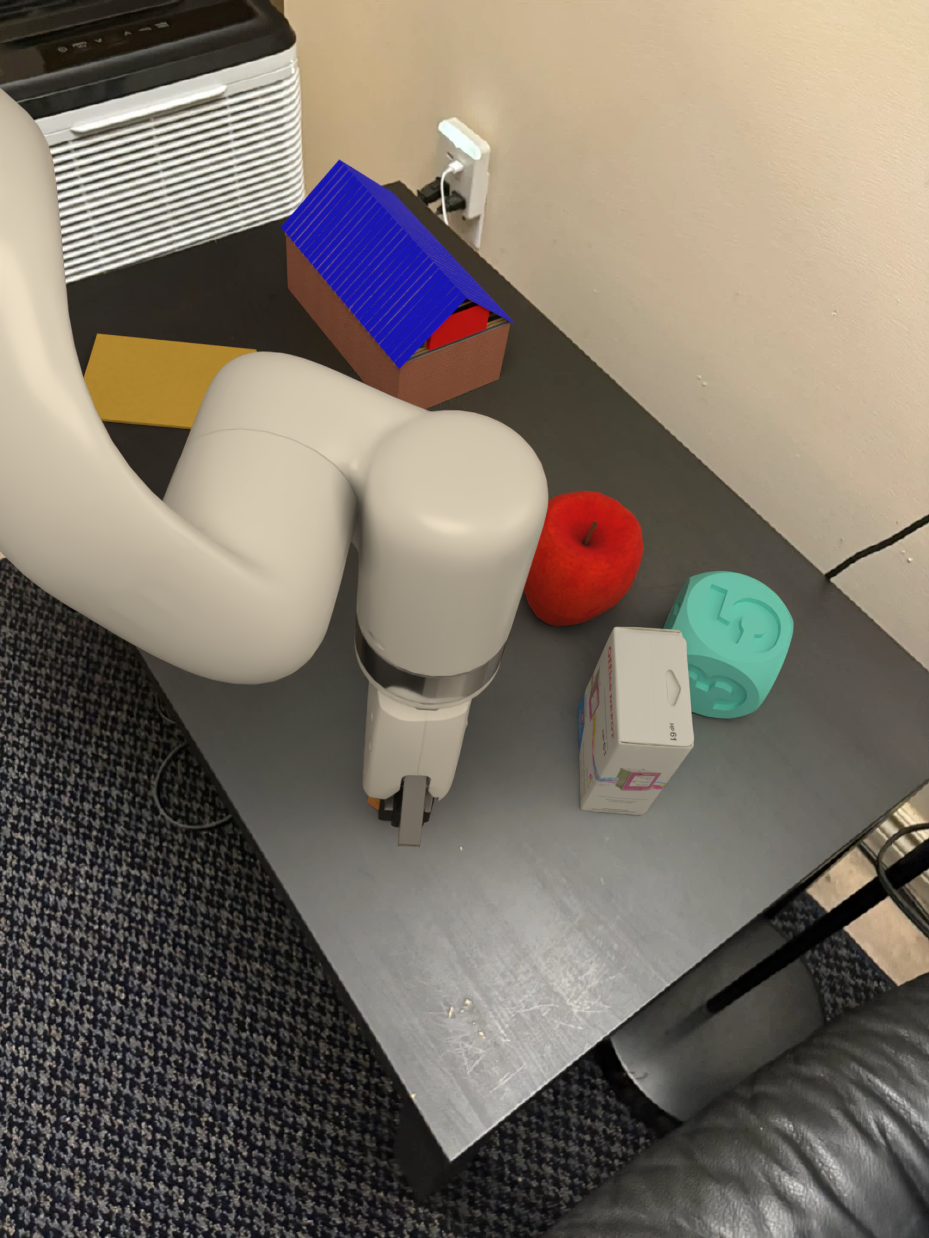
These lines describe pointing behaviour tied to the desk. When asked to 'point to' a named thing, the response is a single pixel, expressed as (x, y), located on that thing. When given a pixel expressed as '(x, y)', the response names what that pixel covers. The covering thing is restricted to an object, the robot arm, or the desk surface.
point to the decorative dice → (730, 641)
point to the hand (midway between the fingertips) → (405, 771)
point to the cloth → (152, 379)
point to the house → (391, 293)
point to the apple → (583, 558)
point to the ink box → (634, 720)
